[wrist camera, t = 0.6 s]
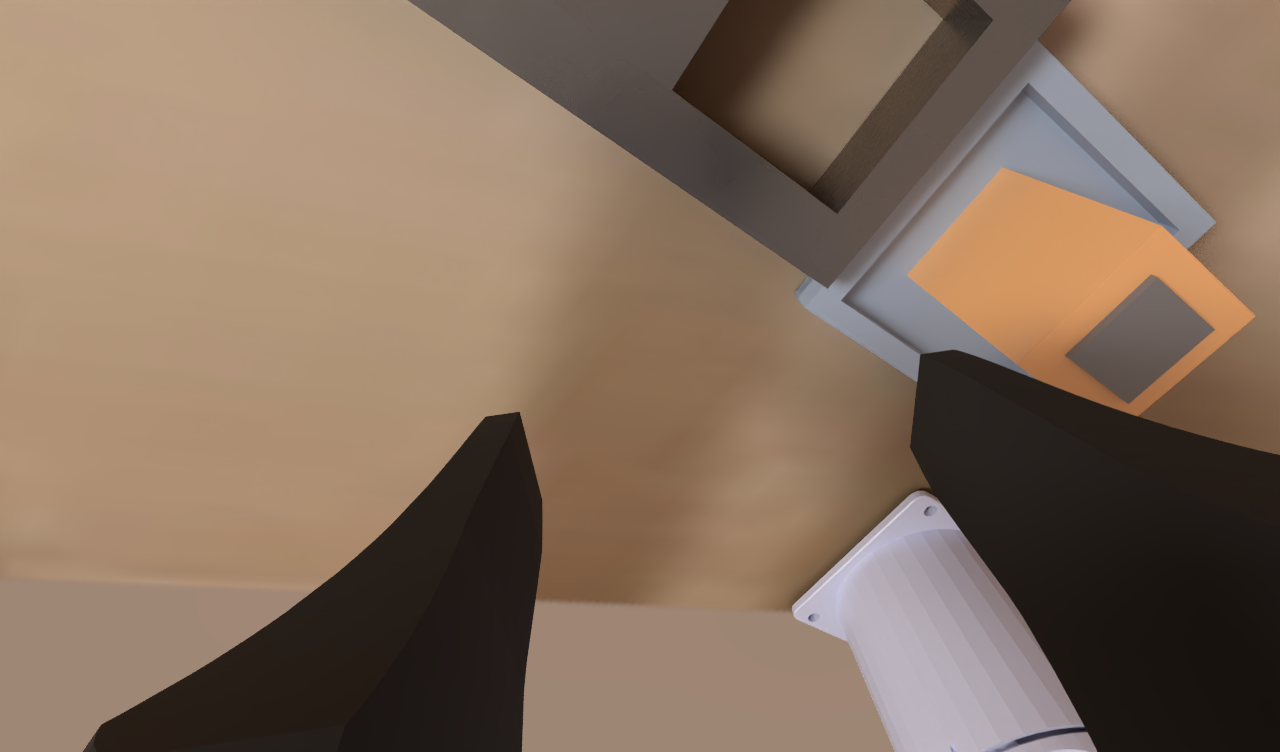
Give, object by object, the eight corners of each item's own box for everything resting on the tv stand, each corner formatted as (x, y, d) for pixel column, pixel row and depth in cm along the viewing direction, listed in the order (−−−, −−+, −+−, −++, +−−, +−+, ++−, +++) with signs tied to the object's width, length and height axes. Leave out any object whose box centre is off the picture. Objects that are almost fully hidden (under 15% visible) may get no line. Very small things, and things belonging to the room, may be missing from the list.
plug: (1083, 238, 20) (1263, 319, 15) (987, 334, 22) (1120, 440, 16) (1002, 167, 19) (1169, 228, 14) (906, 275, 20) (1022, 369, 15)
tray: (1184, 211, 21) (1216, 222, 20) (973, 413, 24) (991, 431, 23) (1006, 33, 18) (1033, 35, 17) (793, 293, 21) (804, 308, 20)
